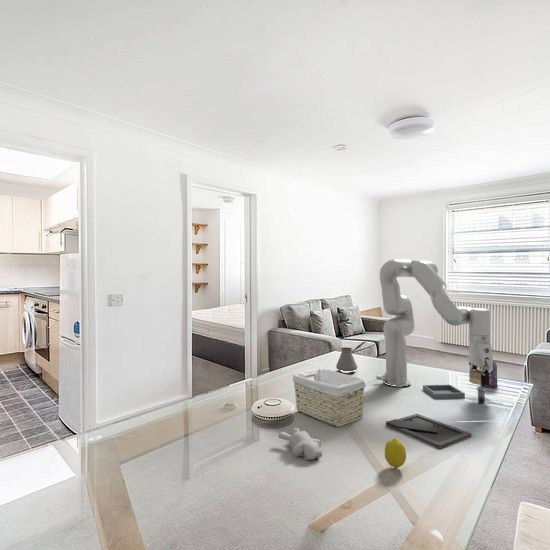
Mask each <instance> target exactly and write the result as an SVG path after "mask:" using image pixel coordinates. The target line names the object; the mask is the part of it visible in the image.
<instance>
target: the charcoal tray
mask: <svg viewBox="0 0 550 550" xmlns="http://www.w3.org/2000/svg"><path fill="white" fill-rule="evenodd" d="M422 390H423V391H424V392H425V393H426V394H428V395H429V396H431V397H432V398H433V399H440V400H441V399H465V398H466V395H465V394H466V393H465V392H463V391H462V390H460V389H458V388H457V387H455V386H453V385H452V384H423V385H422Z"/></svg>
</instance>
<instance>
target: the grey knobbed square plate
mask: <svg viewBox="0 0 550 550" xmlns="http://www.w3.org/2000/svg"><path fill="white" fill-rule="evenodd" d="M476 390H477V397H467V400H470V401H471V402H473V403H475V404H476V405H497V404H498V403H497V402H495V401H494V400H492V399H490V398H488V397H486V396H485V395H486V393H485V391H486V387H483V386H479V387H476Z"/></svg>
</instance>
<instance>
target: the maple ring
mask: <svg viewBox="0 0 550 550" xmlns="http://www.w3.org/2000/svg"><path fill="white" fill-rule="evenodd" d="M484 372H485V370H484ZM468 375H469V380H468V381H469V383H471V384H473V385H479V386H481V375H482V372H481V370H479V368H478V369H471V370H470V369H469V373H468Z"/></svg>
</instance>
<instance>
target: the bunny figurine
mask: <svg viewBox="0 0 550 550" xmlns="http://www.w3.org/2000/svg"><path fill="white" fill-rule="evenodd" d="M292 432H293V433H292V434H289V433H287V432H285V431H279V433H278V435H277V437H278V438H279V439H282V440H285V441H288V444H289V446H290V449H291V451H292V455H293V456H301V457H302V458H303V459H304V460H305V461H309V460H311V461H312V460H315V459H316V458H321V457H323V451H322V450H321V444H322V442H321V440H320V439H316V438H312V437H311V436H310V434H309V433H308V432H307V431H305V430H300V428H299V427H294V428H293V429H292Z"/></svg>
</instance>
